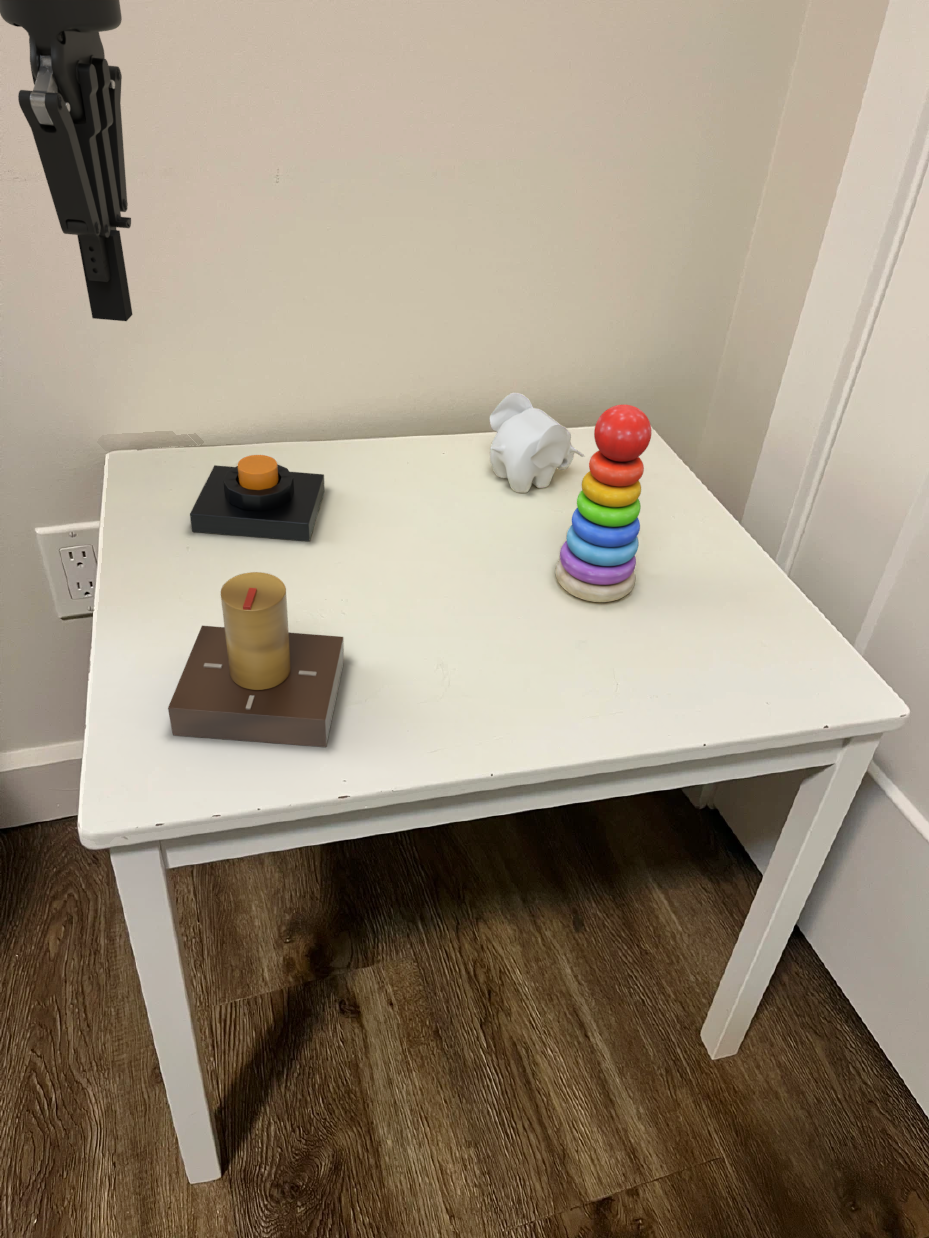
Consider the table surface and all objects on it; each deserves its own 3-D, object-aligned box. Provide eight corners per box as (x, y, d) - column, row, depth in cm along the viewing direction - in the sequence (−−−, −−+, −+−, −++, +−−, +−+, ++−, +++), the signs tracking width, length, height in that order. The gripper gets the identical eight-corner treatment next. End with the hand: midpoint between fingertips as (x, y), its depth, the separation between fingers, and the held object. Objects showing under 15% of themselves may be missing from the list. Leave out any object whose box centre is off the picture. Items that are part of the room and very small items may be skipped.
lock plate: (172, 735, 71) (167, 706, 69) (205, 651, 79) (201, 623, 77) (326, 747, 71) (325, 718, 69) (343, 662, 79) (343, 635, 77)
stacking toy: (649, 591, 91) (693, 419, 79) (589, 615, 87) (625, 438, 75) (597, 551, 96) (632, 384, 84) (538, 572, 92) (565, 400, 80)
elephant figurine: (595, 486, 106) (608, 416, 101) (508, 507, 101) (517, 435, 96) (549, 449, 113) (559, 381, 107) (465, 467, 107) (471, 397, 102)
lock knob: (236, 648, 75) (228, 566, 70) (295, 652, 75) (290, 571, 70) (223, 688, 71) (213, 604, 66) (284, 692, 71) (279, 609, 66)
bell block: (191, 532, 93) (187, 498, 90) (216, 482, 101) (212, 450, 98) (309, 541, 93) (308, 508, 91) (324, 491, 101) (323, 459, 98)
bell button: (235, 489, 93) (233, 472, 92) (243, 470, 96) (242, 452, 95) (274, 492, 93) (273, 475, 92) (281, 473, 96) (280, 456, 95)
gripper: (72, -35, 53) (133, 352, 68) (142, -47, 63) (182, 292, 78) (-57, -47, 53) (32, 344, 68) (33, -57, 63) (94, 285, 78)
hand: (112, 316), depth 73 cm, fingers closed
